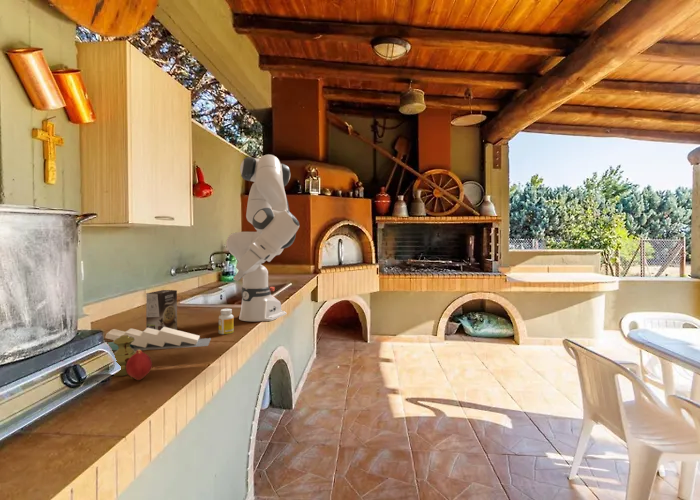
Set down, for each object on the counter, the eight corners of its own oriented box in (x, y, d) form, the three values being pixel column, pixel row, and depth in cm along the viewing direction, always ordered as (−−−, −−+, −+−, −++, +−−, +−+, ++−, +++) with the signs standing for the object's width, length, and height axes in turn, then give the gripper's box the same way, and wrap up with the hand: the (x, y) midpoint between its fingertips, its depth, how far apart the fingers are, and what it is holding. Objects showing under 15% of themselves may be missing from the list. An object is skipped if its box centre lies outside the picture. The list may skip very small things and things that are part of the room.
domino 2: (134, 339, 118) (92, 344, 115) (128, 343, 113) (85, 349, 110) (134, 343, 118) (93, 349, 115) (129, 348, 113) (85, 354, 110)
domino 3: (168, 337, 121) (130, 328, 117) (164, 342, 115) (125, 332, 112) (166, 342, 120) (129, 332, 117) (162, 346, 115) (123, 337, 112)
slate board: (211, 340, 126) (211, 338, 126) (207, 348, 117) (207, 345, 117) (132, 345, 120) (132, 342, 119) (122, 354, 111) (122, 351, 111)
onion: (126, 377, 93) (126, 347, 93) (151, 373, 96) (151, 344, 96) (125, 386, 88) (125, 354, 88) (152, 381, 91) (151, 351, 91)
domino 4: (184, 336, 122) (147, 327, 119) (181, 341, 117) (142, 331, 114) (182, 341, 122) (146, 332, 119) (179, 345, 117) (141, 336, 114)
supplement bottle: (215, 336, 131) (215, 310, 131) (223, 332, 137) (223, 307, 136) (229, 337, 131) (229, 311, 130) (236, 333, 136) (236, 308, 135)
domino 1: (151, 338, 119) (113, 328, 116) (147, 343, 114) (106, 333, 111) (150, 342, 119) (111, 333, 116) (145, 347, 114) (105, 337, 111)
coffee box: (161, 337, 129) (160, 293, 128) (145, 336, 130) (145, 292, 129) (178, 331, 138) (177, 289, 137) (163, 330, 139) (163, 289, 138)
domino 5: (200, 335, 123) (163, 326, 120) (197, 340, 118) (159, 330, 115) (198, 340, 123) (162, 331, 120) (195, 344, 118) (158, 335, 115)
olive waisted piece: (103, 377, 93) (102, 340, 93) (115, 367, 100) (115, 332, 100) (133, 375, 95) (133, 338, 94) (144, 365, 102) (143, 331, 101)
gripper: (261, 245, 134) (235, 272, 133) (251, 242, 114) (221, 275, 113) (273, 256, 135) (248, 283, 134) (265, 256, 114) (236, 288, 113)
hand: (235, 279), depth 123 cm, fingers closed
